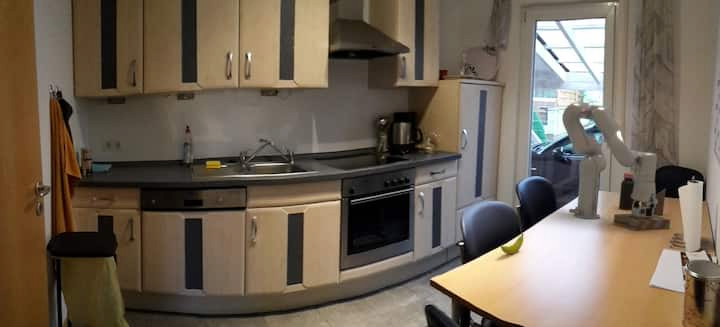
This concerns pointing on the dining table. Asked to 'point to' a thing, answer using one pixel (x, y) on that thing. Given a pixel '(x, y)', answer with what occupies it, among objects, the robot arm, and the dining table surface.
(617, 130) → the robot arm
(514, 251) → the banana
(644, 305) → the dining table surface
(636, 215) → the grey bar
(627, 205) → the bottle
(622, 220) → the post base
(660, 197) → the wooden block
